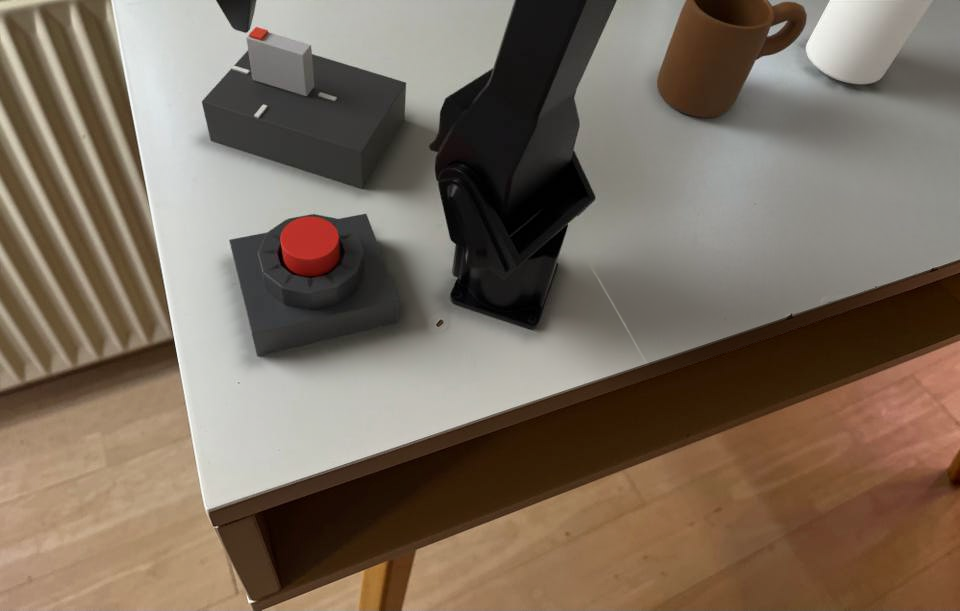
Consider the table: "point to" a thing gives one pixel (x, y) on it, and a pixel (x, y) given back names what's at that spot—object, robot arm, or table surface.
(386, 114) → the slider switch box
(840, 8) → the beverage can
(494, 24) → the table surface
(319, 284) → the push button box
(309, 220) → the stop button
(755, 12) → the mug
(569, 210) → the robot arm
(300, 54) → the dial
